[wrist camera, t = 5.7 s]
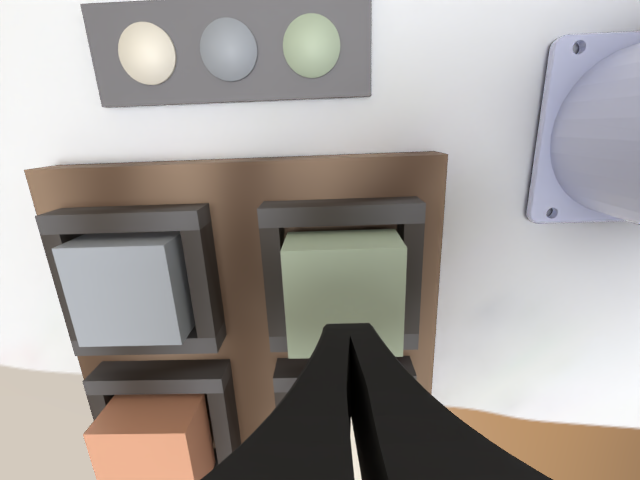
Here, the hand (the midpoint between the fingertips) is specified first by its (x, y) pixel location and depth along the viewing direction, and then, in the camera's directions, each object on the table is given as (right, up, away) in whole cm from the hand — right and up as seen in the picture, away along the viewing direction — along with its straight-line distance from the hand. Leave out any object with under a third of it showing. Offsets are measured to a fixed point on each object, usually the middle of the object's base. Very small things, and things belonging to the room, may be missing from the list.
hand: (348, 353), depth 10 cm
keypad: (-4, -1, +9) cm, 10 cm away
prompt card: (-5, +11, +5) cm, 13 cm away
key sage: (0, +2, +5) cm, 5 cm away
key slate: (-9, +2, +6) cm, 11 cm away
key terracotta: (-9, -6, +8) cm, 13 cm away
